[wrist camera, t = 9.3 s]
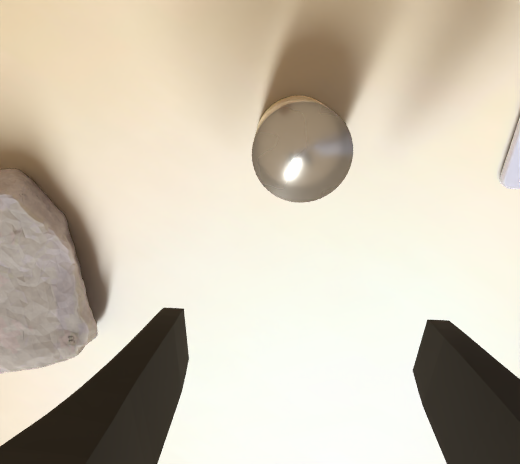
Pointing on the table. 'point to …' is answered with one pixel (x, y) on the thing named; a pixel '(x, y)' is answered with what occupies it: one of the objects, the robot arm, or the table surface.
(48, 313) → the stone block
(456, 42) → the table surface
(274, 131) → the brushed metal tin
